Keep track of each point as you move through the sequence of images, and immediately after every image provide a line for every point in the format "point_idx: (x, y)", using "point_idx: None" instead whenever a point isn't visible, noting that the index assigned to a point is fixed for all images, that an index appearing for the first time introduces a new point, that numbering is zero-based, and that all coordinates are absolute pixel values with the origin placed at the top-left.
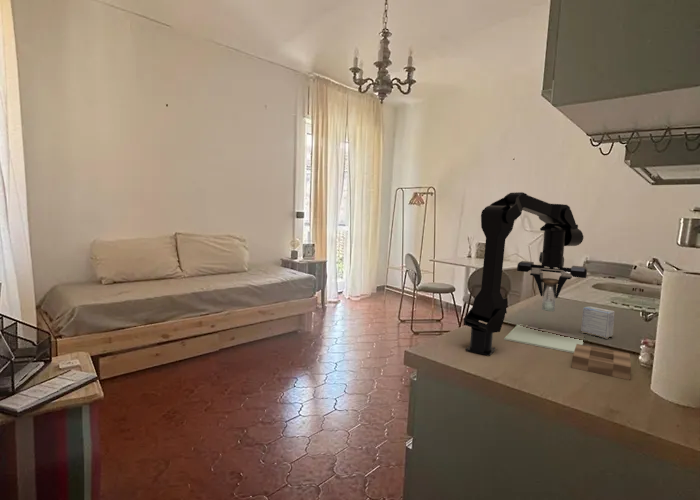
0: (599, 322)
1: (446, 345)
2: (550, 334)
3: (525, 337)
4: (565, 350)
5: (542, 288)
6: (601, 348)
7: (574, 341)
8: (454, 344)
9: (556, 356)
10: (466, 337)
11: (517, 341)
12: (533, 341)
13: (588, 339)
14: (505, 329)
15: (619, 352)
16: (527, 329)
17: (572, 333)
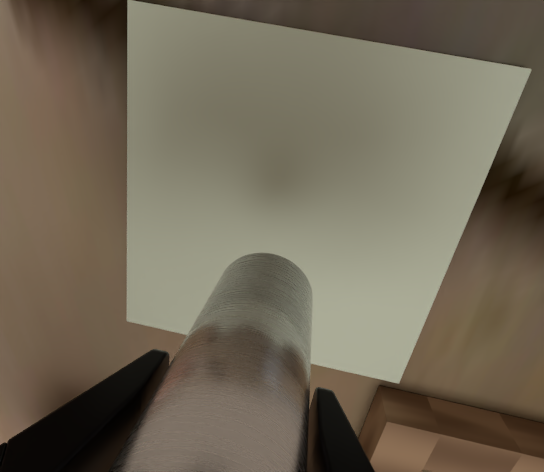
0: None
1: (10, 431)
2: (313, 162)
3: (198, 276)
4: (347, 369)
5: (110, 461)
6: (478, 444)
7: (418, 239)
8: (21, 418)
9: None
10: (16, 343)
11: (177, 329)
12: None
13: (530, 115)
14: (96, 147)
15: (537, 466)
16: (194, 116)
17: (468, 4)
